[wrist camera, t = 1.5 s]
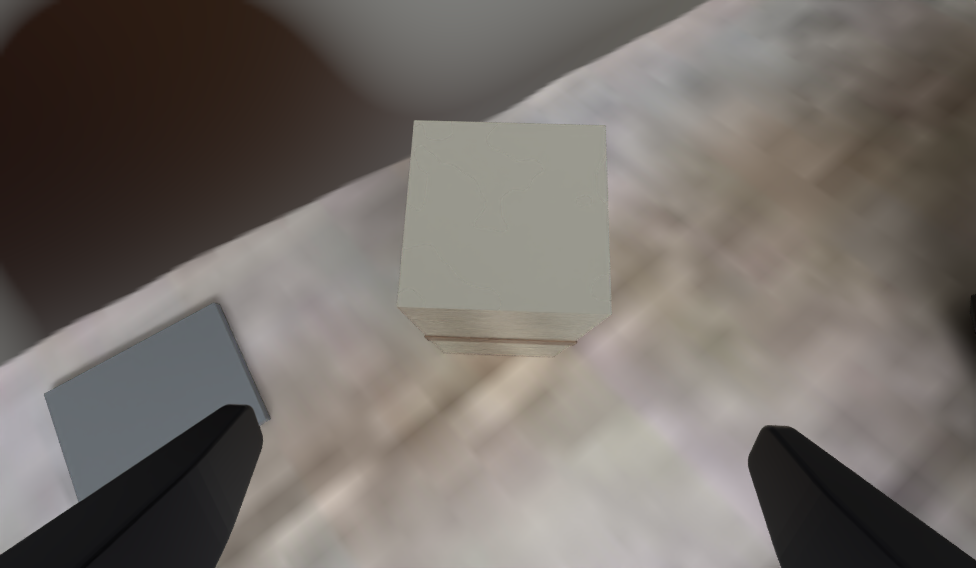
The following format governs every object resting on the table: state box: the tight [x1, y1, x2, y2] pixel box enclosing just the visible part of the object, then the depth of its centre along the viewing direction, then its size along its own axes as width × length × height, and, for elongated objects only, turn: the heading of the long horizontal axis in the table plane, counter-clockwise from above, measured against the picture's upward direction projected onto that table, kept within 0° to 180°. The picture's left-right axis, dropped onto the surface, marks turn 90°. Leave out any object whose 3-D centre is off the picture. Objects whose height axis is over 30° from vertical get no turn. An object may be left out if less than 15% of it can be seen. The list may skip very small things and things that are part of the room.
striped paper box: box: [397, 120, 612, 357], centre depth 16 cm, size 5×5×10 cm
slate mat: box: [44, 303, 270, 502], centre depth 20 cm, size 6×8×1 cm
